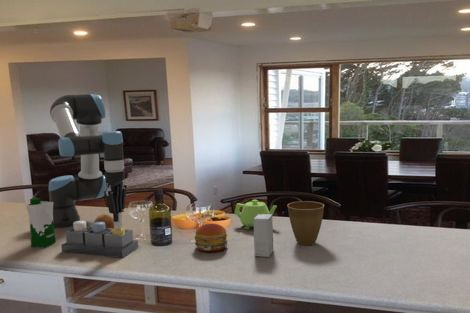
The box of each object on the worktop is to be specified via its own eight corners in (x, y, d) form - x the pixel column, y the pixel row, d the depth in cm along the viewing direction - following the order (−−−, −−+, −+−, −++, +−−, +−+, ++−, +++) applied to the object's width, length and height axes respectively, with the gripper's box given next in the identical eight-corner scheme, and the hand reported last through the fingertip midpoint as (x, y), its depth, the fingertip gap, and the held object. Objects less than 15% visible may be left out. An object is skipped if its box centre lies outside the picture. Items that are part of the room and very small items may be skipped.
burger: (189, 252, 174) (188, 227, 173) (203, 241, 187) (202, 218, 186) (220, 255, 170) (219, 230, 168) (232, 244, 182) (232, 221, 181)
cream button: (79, 231, 185) (78, 220, 184) (89, 232, 183) (88, 220, 183) (71, 235, 180) (70, 223, 179) (81, 236, 179) (81, 224, 178)
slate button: (97, 233, 182) (96, 221, 181) (108, 234, 181) (107, 222, 180) (90, 236, 177) (89, 224, 177) (101, 237, 176) (100, 225, 175)
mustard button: (117, 238, 180) (116, 227, 179) (127, 239, 178) (127, 227, 178) (110, 242, 175) (109, 230, 174) (121, 243, 174) (120, 231, 173)
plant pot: (331, 241, 182) (331, 204, 180) (311, 251, 171) (311, 211, 169) (301, 234, 192) (300, 198, 190) (280, 243, 182) (280, 205, 179)
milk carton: (40, 240, 193) (36, 196, 191) (59, 241, 191) (55, 196, 189) (27, 247, 185) (23, 201, 182) (46, 248, 183) (42, 201, 180)
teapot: (279, 223, 211) (278, 197, 209) (274, 231, 198) (274, 204, 196) (238, 221, 215) (237, 196, 214) (231, 229, 203) (230, 202, 201)
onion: (89, 236, 198) (87, 214, 197) (109, 230, 205) (107, 210, 204) (100, 240, 192) (99, 218, 190) (120, 234, 199) (119, 213, 198)
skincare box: (269, 257, 166) (268, 219, 164) (253, 256, 168) (252, 218, 166) (273, 250, 174) (273, 213, 172) (259, 249, 176) (258, 212, 174)
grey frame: (80, 242, 190) (79, 224, 189) (138, 247, 181) (137, 228, 180) (61, 251, 178) (60, 232, 177) (122, 257, 170) (121, 237, 169)
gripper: (115, 167, 180) (118, 223, 183) (96, 173, 168) (100, 233, 171) (131, 168, 178) (134, 224, 181) (113, 173, 165) (117, 234, 169)
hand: (118, 228), depth 176 cm, fingers closed
